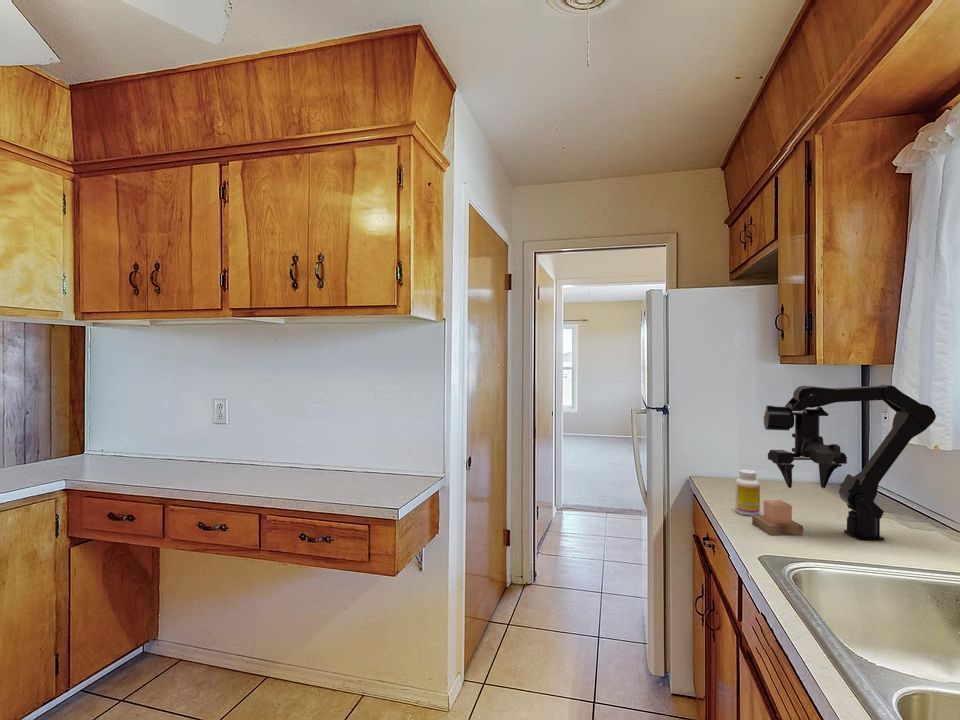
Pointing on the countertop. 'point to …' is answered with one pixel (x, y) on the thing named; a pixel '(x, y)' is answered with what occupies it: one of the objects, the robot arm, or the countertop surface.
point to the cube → (777, 512)
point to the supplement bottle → (747, 493)
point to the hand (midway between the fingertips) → (806, 487)
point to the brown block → (777, 527)
